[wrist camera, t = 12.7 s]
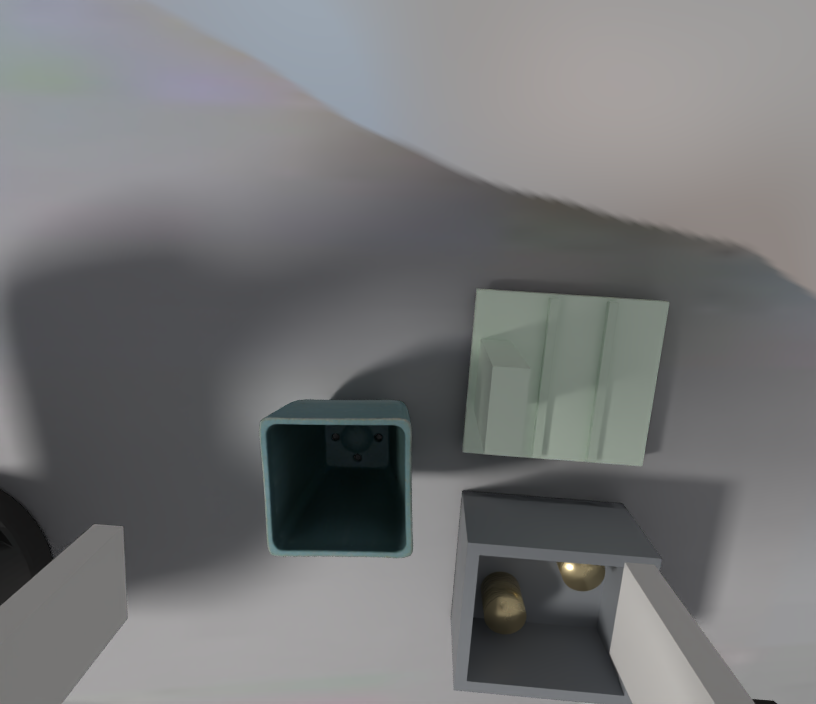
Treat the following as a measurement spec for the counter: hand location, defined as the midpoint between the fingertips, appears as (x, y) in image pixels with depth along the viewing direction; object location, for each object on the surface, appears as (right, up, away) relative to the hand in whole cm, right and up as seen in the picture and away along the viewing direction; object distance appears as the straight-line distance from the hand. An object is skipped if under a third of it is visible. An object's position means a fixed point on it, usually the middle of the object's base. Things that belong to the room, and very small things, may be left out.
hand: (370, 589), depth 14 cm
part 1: (+8, -12, +27) cm, 30 cm away
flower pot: (-3, 0, +26) cm, 26 cm away
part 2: (+13, -8, +26) cm, 30 cm away
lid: (+12, +4, +23) cm, 26 cm away
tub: (+11, -10, +27) cm, 31 cm away
